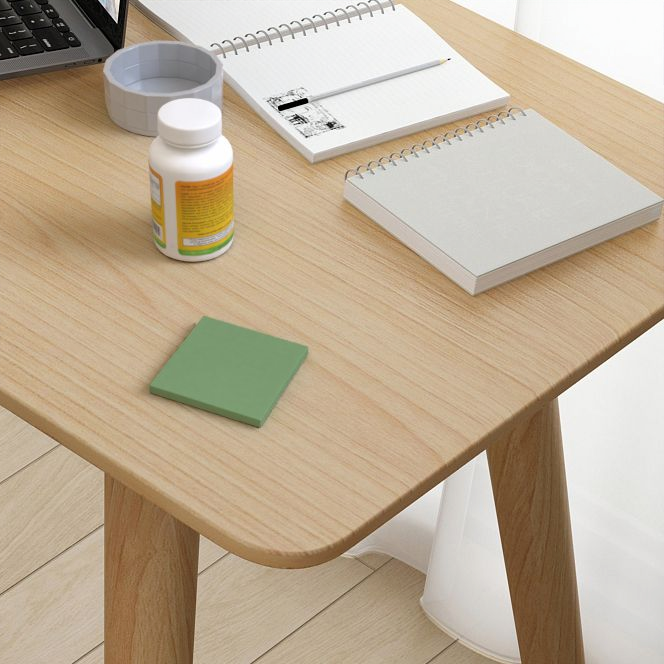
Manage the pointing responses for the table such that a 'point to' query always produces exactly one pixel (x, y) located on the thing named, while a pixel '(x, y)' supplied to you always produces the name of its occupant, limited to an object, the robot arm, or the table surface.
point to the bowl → (158, 81)
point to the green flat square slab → (230, 371)
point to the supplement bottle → (191, 182)
